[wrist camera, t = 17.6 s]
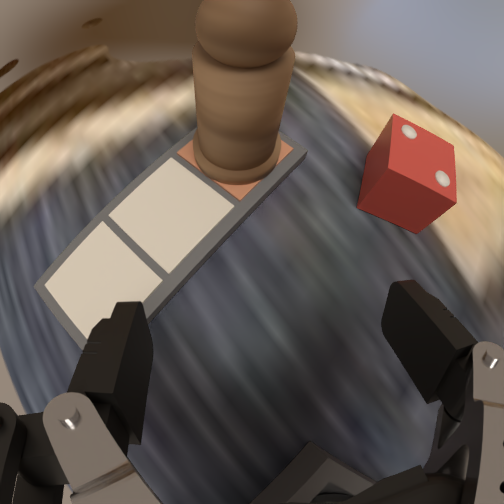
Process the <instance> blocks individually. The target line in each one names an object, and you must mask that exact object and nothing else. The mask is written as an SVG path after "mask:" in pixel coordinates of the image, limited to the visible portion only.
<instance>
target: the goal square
mask: <svg viewBox="0 0 504 504" xmlns="http://www.w3.org/2000/svg"><path fill="white" fill-rule="evenodd" d="M293 149H294V148H292V147H291V146H289V145H288V144H286V143H285V142H284V141H282V140H281V151H280V154H279V158H278V162H277V164H276V166H277V165H278V164H279V163H280V162H281V161H282V160H283V159H284V158H285V157H286V156H287V155H289V154H290V153H291V152H292V151H293ZM177 155H179V156H180V157H181V158H183V159H184V160H185V161H187V162H188V163H189V164H191V165H192V166H193V167H195V168H196V169H197V170H199V171H200V172H201V173H203V172H202V171H201V170H200V168H199V167H198V165H197V163H196V161H195V157H194V150H193V140H191V141H190V142H189V143H188V144H186V145H185V146H184V147H183V148H182V149H180V150H179V151H178V152H177ZM276 166H275V167H276ZM203 174H204V173H203ZM204 175H205V174H204ZM205 176H207V175H205ZM207 177H208V176H207ZM208 178H209V177H208ZM209 179H211V178H209ZM263 179H264V178H263ZM263 179H262V180H263ZM211 180H212V181H213V182H215V183H216V184H217V185H218V186H220V187H221V188H222V189H224V190H225V191H226V192H228V193H229V194H230V195H232V196H233V197H234V198H235V199H237V200H238V201H239V202H240V201H241V200H242V199H243V198H244V197H245V196H246V195H247V194H248V193H249V192H250V191H251V190H252V189H253V188H254V187H256V186H257V185H258V184H259V183H260V182H261V181H262V180H259V181H257V182H254V183H251V184H247V185H228V184H223V183H220V182H217V181H215V180H213V179H211Z"/></svg>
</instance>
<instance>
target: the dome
mask: <svg viewBox="0 0 504 504" xmlns="http://www.w3.org/2000/svg"><path fill="white" fill-rule="evenodd" d="M351 497H352V496H348V495H342V494H324V495H319V496H315V498H314V499H313V500H312V501H311V502H310V503H338V502H343V501H346V500H348V499H350V498H351Z"/></svg>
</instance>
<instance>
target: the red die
mask: <svg viewBox="0 0 504 504" xmlns="http://www.w3.org/2000/svg"><path fill="white" fill-rule="evenodd" d="M456 203H457V198H456V170H455V155H454V146H453V145H452V144H450V143H448V142H446V141H445V140H443V139H441V138H439V137H438V136H436V135H434V134H432V133H430V132H429V131H427V130H425V129H423V128H421V127H419V126H417V125H415V124H413V123H411V122H409V121H408V120H406V119H403V118H401V117H399V116H397V115H395V114H393V115H392V116H391V118H390V119H389V121H388V123H387V124H386V126H385V128H384V129H383V131H382V132H381V134H380V136H379V137H378V139H377V140H376V142H375V144H374V145H373V147H372V148H371V150H370V151H369V153H368V155H367V157H366V163H365V169H364V174H363V179H362V184H361V189H360V194H359V199H358V204H357V208H358V209H361V210H363V211H365V212H368V213H370V214H372V215H375V216H377V217H379V218H382V219H384V220H386V221H389V222H391V223H393V224H395V225H398V226H400V227H402V228H404V229H407V230H409V231H411V232H413V233H415V234H417V233H419V232H420V231H421V230H423V229H424V228H425V227H427V226H428V225H429V224H430V223H432V222H433V221H434V220H436V219H437V218H438V217H439V216H441V215H442V214H443V213H445V212H446V211H447V210H448V209H450V208H451V207H452V206H453V205H455V204H456Z"/></svg>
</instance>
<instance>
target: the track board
mask: <svg viewBox="0 0 504 504" xmlns="http://www.w3.org/2000/svg"><path fill="white" fill-rule="evenodd" d="M197 128H198V127H196V128H195V129H194V130H192V131H191V132H190V133H189V134H187V135H186V136H185V137H184V138H182V139H181V140H180V141H179V142H177V143H176V144H175V145H174V146H172V147H171V148H170V149H169V150H168V151H166V152H165V153H164V154H163V155H162V156H160V157H159V158H158V159H157V160H156V161H155V162H153V163H152V164H151V165H150V166H149V167H148V168H147V169H145V170H144V171H143V172H142V173H141V174H140V175H139V176H138V177H137V178H135V179H134V180H133V181H132V182H131V183H130V184H129V185H128V186H127V187H126V188H125V189H123V190H122V191H121V192H120V193H119V194H118V195H117V196H116V197H115V198H114V199H113V200H112V201H111V202H110V203H109V204H108V205H107V206H106V207H105V208H104V209H103V210H102V211H101V212H100V213H99V214H98V215H97V216H96V217H95V218H94V219H93V220H92V221H91V222H90V223H89V224H88V225H87V226H86V227H85V228H84V229H83V230H82V231H81V232H80V233H79V234H78V235H77V237H76V238H75V239H74V240H73V241H72V242H71V243H70V244H69V245H68V246H67V247H66V249H65V250H64V251H63V252H62V253H61V254H60V255H59V256H58V258H57V259H56V260H55V261H54V262H53V263H52V264H51V266H50V267H49V268H48V269H47V270H46V272H45V273H44V274H43V275H42V276H41V278H40V279H39V280H38V281H37V282H36V284H35V285H34V288H35V289H36V291H37V292H38V294H39V295H40V296H41V298H42V299H43V301H44V302H45V303H46V305H47V306H48V307H49V309H50V310H51V312H52V313H53V314H54V316H55V317H56V318H57V319H58V321H59V322H60V323H61V325H62V326H63V327H64V328H65V330H66V331H67V332H68V333H69V335H70V336H71V337H72V338H73V340H74V341H75V342H76V343H77V344H78V346H79V347H80V348H81V349H82V350H83V349H84V347H85V344H87V339H88V337H89V335H90V332H91V330H92V328H93V327H94V326H95V325H96V324H97V323H98V322H99V321H100V320H101V319H102V318H110V317H111V314H112V312H113V309H114V307H115V305H116V303H117V302H127V301H141V302H142V304H143V307H144V311H145V315H146V319H147V323H148V324H149V323H150V322H151V321H152V319H153V318H154V317H155V316H156V315H157V314H158V313H159V312H160V311H161V309H162V308H163V307H164V306H165V305H166V304H167V303H168V302H169V301H170V300H171V299H172V297H173V296H174V295H175V294H176V293H177V292H178V291H179V290H180V289H181V288H182V287H183V285H184V284H185V283H186V282H187V281H188V280H189V279H190V278H191V277H192V276H193V275H194V274H195V273H196V271H197V270H198V269H199V268H200V267H201V266H202V265H203V264H204V263H205V262H206V261H207V260H208V259H209V258H210V256H211V255H212V254H213V253H214V252H215V251H216V250H217V249H218V248H219V247H220V246H221V245H222V244H223V243H224V242H225V241H226V239H227V238H228V237H229V236H230V235H231V234H232V233H233V232H234V231H235V230H236V229H237V228H238V227H239V226H240V225H241V224H242V223H243V222H244V221H245V220H246V218H247V217H248V216H249V215H250V214H251V213H252V212H253V211H254V210H255V209H256V208H257V207H258V206H259V205H260V204H261V203H262V202H263V201H264V200H265V199H266V198H267V197H268V196H269V195H270V194H271V193H272V192H273V191H274V190H275V189H276V187H277V186H278V185H279V184H280V183H281V182H282V181H283V180H284V179H285V178H286V177H287V176H288V175H289V174H290V173H291V172H292V171H293V170H294V169H295V168H296V167H297V166H298V165H299V164H300V163H301V162H302V161H303V160H304V159H305V157H306V154H307V152H308V150H307V149H305V148H304V147H302V146H301V145H299V144H298V143H297V142H295V141H294V140H292V139H291V138H289V137H288V136H286V135H285V134H283V133H282V132H280V131H278V132H279V135H280V138H281V140H282V141H284V142H285V143H286V144H288V145H289V146H291V147H292V148H294V149H293V151H292V152H291V153H290V154H289V155H287V156H286V157H285V158H284V159H283V160H282V161H281V162H280V163H279V164H278V165H277V166H276V167H275V168H274V169H273V171H272V172H271V173H270V174H269V175H267V176H266V177H265V178H264V179H263V180H262V181H261V182H260V183H259V184H258V185H257V186H256V187H254V188H253V189H252V190H251V191H250V192H249V193H248V194H247V195H246V196H245V197H244V198H243V199H242V200H241V201H240V202H239V201H238V200H237V199H235V198H234V197H233V196H232V195H230V194H229V193H228V192H226V191H225V190H224V189H222V188H221V187H220V186H218V185H217V184H216V183H215V182H213V181H212V180H211V179H209V178H208V177H207V176H205V175H204V174H203V173H201V172H200V171H199V170H197V169H196V168H195V167H193V166H192V165H191V164H189V163H188V162H187V161H185V160H184V159H183V158H181V157H180V156H179V155H177V152H178V151H179V150H180V149H182V148H183V147H184V146H185V145H186V144H188V143H189V142H190V141H191V140H193V137H194V133H195V131H196V129H197Z"/></svg>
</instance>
